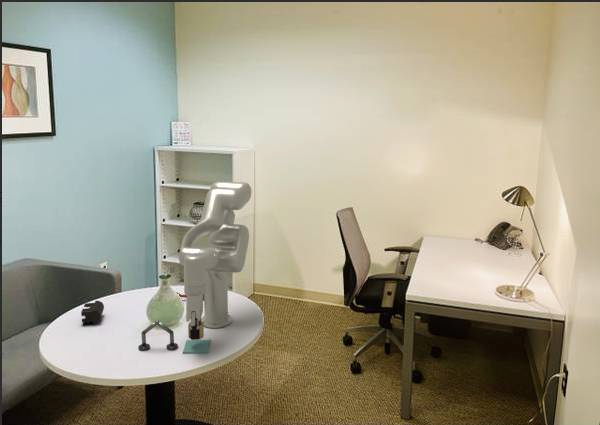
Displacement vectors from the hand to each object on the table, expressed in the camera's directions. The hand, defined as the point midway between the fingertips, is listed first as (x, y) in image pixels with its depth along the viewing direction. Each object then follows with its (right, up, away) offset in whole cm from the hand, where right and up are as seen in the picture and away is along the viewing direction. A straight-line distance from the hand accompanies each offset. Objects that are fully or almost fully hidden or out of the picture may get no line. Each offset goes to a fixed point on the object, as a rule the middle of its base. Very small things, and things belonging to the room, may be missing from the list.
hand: (196, 334), depth 173 cm
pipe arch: (-14, -5, +1) cm, 15 cm away
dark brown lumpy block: (-47, 0, +22) cm, 51 cm away
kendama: (-15, +4, +43) cm, 46 cm away
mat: (0, -5, +2) cm, 5 cm away
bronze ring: (0, -1, 0) cm, 1 cm away
